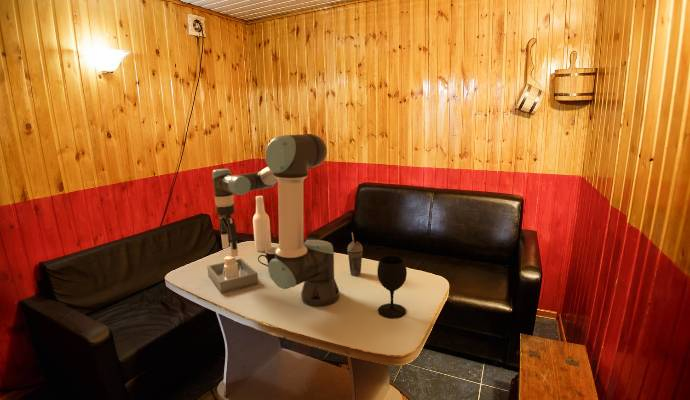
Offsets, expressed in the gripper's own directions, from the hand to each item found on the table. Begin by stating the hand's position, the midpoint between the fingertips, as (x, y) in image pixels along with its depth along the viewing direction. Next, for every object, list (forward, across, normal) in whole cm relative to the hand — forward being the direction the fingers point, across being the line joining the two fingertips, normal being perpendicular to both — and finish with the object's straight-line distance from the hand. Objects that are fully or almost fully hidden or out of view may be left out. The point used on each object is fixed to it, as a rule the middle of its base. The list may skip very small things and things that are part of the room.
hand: (230, 252), depth 163 cm
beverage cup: (+14, -27, -48) cm, 57 cm away
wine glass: (+15, -62, -40) cm, 75 cm away
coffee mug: (+14, 0, -19) cm, 23 cm away
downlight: (+12, 0, 0) cm, 13 cm away
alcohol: (+13, +31, -26) cm, 42 cm away
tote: (+13, +1, 0) cm, 13 cm away
